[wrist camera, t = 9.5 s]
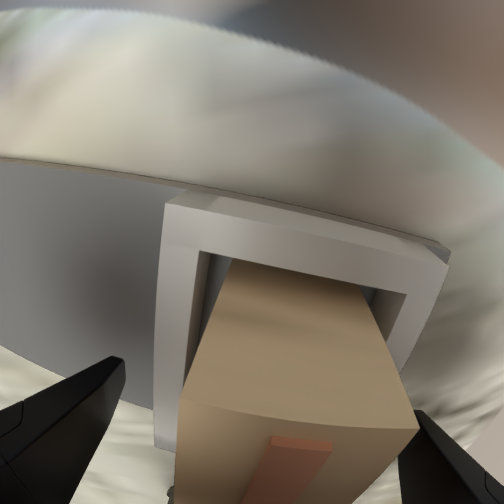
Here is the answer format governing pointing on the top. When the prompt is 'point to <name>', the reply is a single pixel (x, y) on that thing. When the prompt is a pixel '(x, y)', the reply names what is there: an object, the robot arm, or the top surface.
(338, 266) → the gray plate
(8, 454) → the robot arm
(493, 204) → the top surface
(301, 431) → the cardboard box
